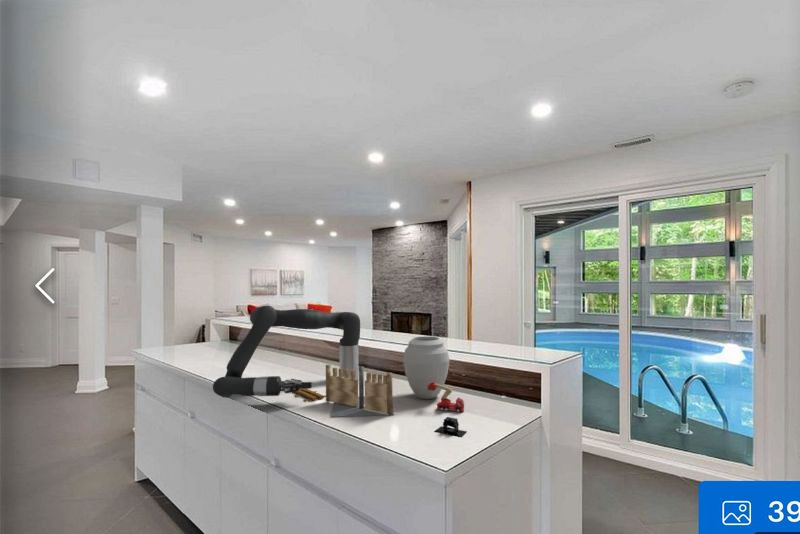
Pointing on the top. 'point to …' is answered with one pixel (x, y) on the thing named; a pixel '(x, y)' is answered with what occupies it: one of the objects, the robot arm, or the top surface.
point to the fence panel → (341, 387)
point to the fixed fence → (376, 392)
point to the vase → (426, 365)
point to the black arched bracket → (451, 431)
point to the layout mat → (354, 411)
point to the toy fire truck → (445, 401)
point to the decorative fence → (309, 394)
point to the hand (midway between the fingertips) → (311, 385)
